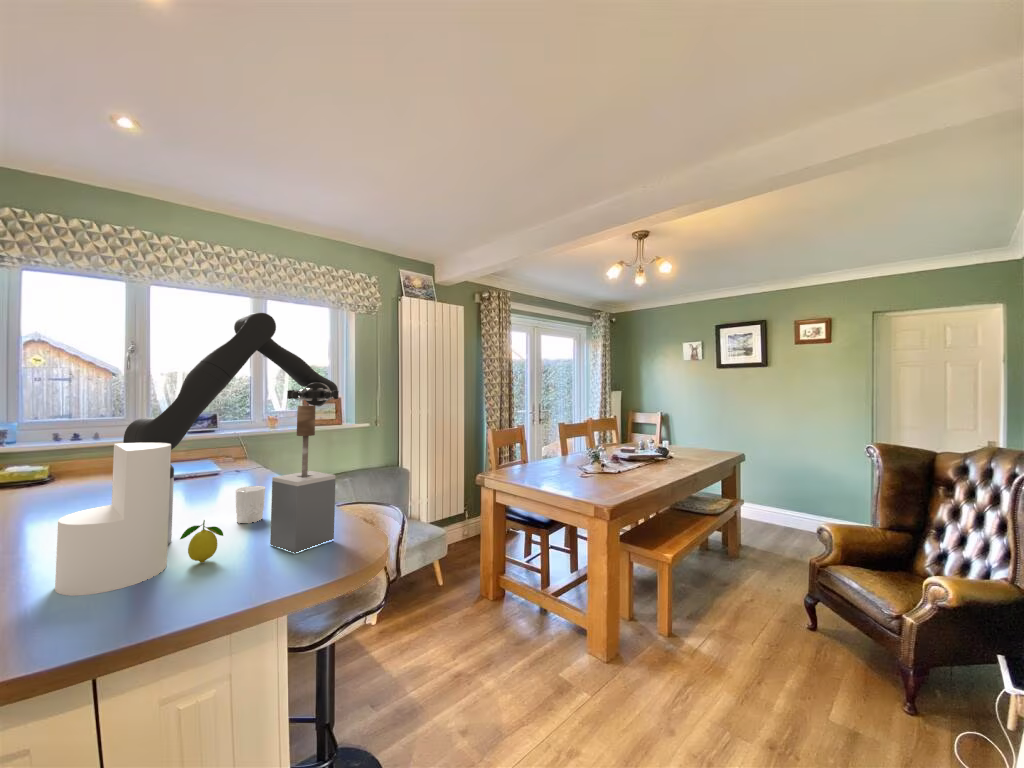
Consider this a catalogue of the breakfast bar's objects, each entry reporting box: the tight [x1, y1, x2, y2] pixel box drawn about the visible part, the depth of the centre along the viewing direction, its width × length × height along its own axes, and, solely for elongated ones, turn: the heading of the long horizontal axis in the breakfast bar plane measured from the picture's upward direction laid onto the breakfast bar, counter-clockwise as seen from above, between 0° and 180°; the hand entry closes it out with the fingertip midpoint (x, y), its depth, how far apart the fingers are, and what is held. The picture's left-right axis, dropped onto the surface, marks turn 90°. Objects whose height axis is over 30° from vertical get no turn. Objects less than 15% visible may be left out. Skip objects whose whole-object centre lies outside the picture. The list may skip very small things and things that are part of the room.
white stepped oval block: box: [54, 442, 172, 597], centre depth 89 cm, size 17×17×28 cm
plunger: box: [296, 404, 317, 478], centre depth 110 cm, size 8×8×27 cm
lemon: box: [179, 519, 224, 564], centre depth 96 cm, size 7×6×10 cm
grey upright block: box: [269, 470, 337, 553], centre depth 109 cm, size 11×11×18 cm
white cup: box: [235, 485, 266, 524], centre depth 128 cm, size 8×8×10 cm
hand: (311, 395), depth 120 cm, fingers open, 8 cm apart
